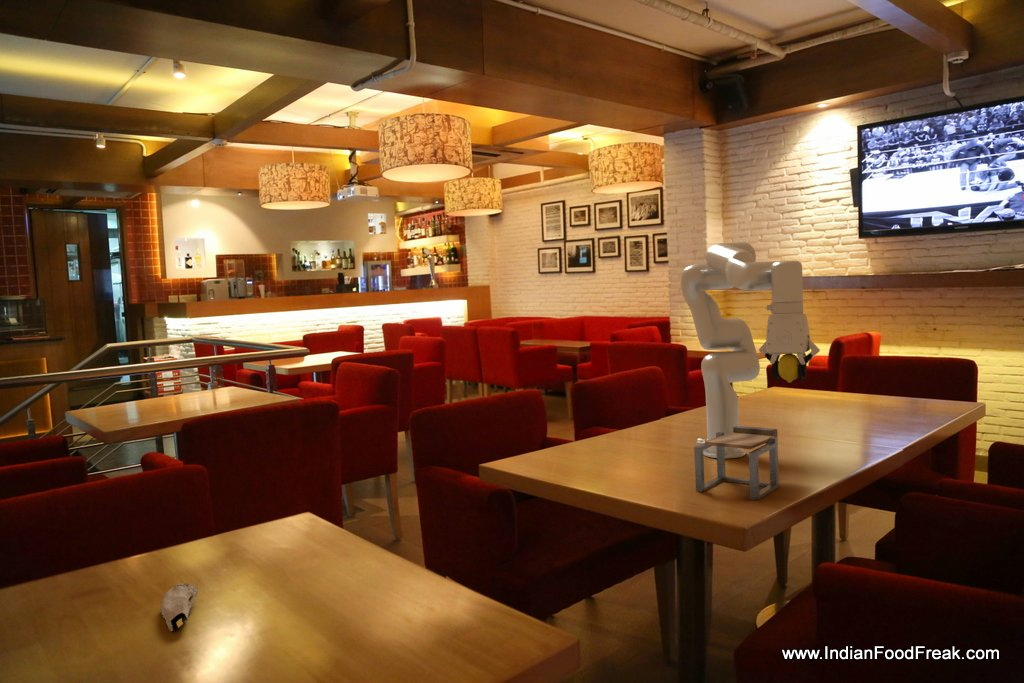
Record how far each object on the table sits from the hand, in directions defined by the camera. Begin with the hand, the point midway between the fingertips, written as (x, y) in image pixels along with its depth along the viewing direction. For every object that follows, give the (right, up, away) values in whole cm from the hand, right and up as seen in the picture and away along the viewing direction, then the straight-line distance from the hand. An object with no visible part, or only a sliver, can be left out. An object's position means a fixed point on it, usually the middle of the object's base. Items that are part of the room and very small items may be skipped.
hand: (789, 378), depth 188 cm
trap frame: (-14, -28, -2) cm, 32 cm away
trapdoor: (-12, -18, +1) cm, 21 cm away
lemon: (0, -1, 0) cm, 1 cm away
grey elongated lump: (-130, -40, -59) cm, 148 cm away
